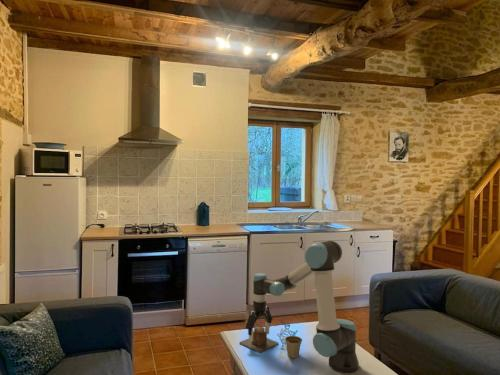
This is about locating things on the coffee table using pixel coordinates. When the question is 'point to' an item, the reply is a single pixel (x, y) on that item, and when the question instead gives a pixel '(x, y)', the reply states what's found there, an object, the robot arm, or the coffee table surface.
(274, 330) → the coffee table surface
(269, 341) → the post plate
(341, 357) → the robot arm
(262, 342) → the knob
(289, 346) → the flower pot
